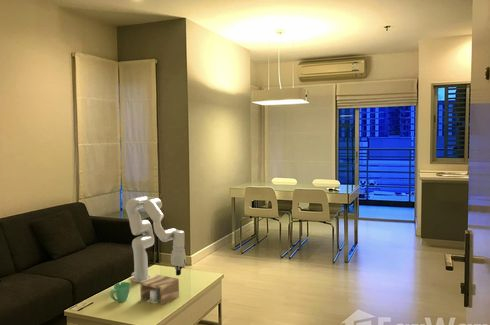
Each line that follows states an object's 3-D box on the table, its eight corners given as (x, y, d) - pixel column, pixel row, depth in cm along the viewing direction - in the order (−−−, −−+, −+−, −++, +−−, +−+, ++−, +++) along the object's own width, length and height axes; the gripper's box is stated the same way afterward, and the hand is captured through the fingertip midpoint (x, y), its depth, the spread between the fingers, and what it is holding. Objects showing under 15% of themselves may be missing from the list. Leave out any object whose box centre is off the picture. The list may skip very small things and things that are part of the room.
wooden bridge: (140, 299, 257) (140, 282, 257) (157, 291, 271) (157, 274, 271) (162, 305, 249) (162, 286, 248) (179, 296, 263) (178, 278, 262)
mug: (121, 296, 264) (121, 281, 263) (133, 298, 260) (133, 283, 259) (105, 304, 251) (104, 289, 250) (117, 307, 247) (117, 291, 246)
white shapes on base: (147, 302, 255) (146, 290, 254) (166, 291, 272) (166, 280, 272) (155, 303, 251) (155, 292, 251) (175, 292, 269) (174, 281, 269)
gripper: (166, 248, 277) (166, 274, 278) (184, 252, 269) (183, 278, 271) (173, 245, 283) (173, 271, 285) (190, 249, 276) (190, 275, 278)
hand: (178, 274), depth 278 cm, fingers closed
